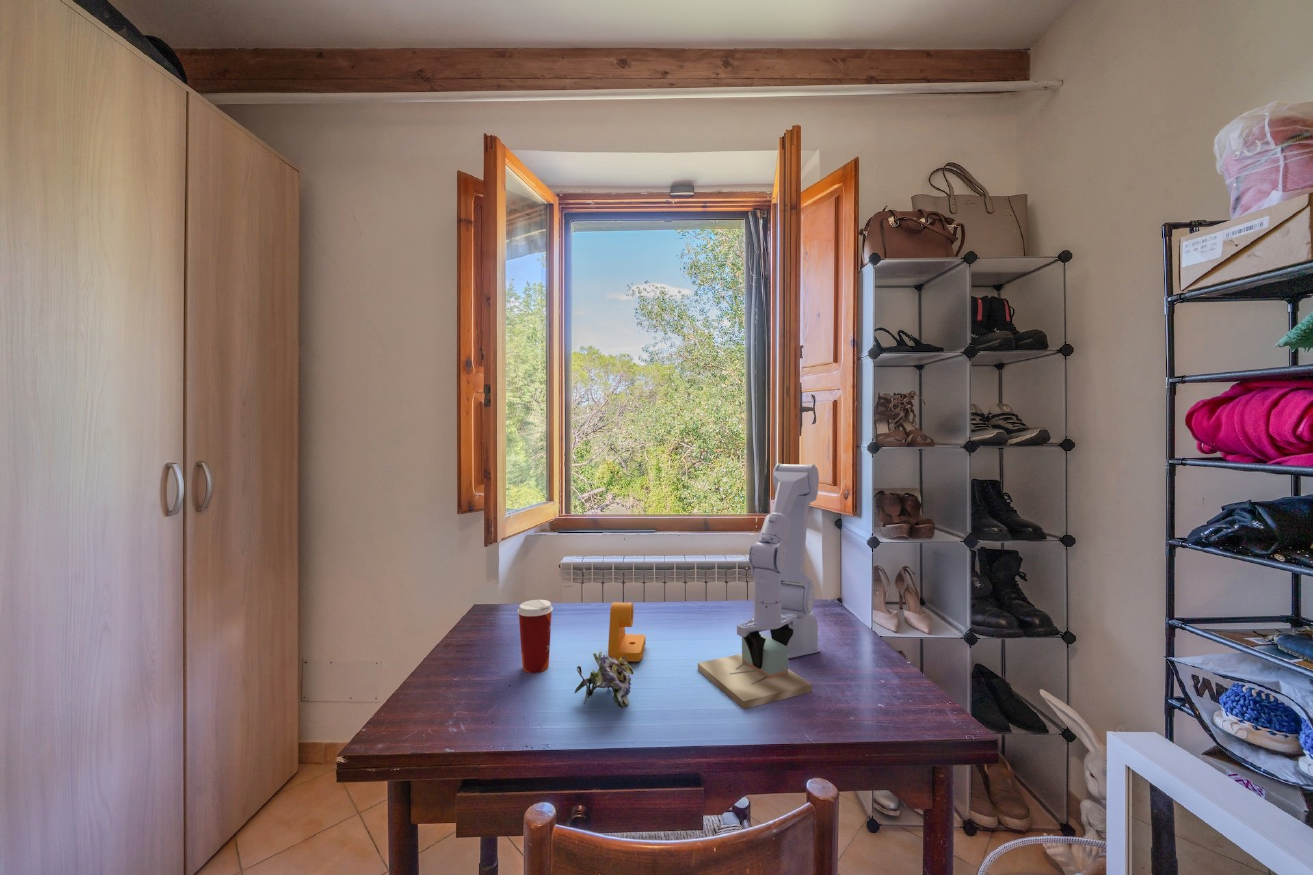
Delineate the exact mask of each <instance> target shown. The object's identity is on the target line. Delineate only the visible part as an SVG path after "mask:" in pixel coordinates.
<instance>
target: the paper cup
mask: <svg viewBox="0 0 1313 875" xmlns="http://www.w3.org/2000/svg"><path fill="white" fill-rule="evenodd" d="M553 610H554V608H553V606H552V603H551V601H549V600H547V599H532V600H527V601H524V602H522V603H520V605H518V609H517V614H518V618H519V619H518V620H519V622H518V623H519V635H520V651H521V653H520V654H521V664H522V669H523V672H525V673H528V674H538V673H541V672H542V673H543V672H544V671H546V670H548V669H549V664H550V651H551V650H550V649H551V631H552V630H551V626H552V611H553Z"/></svg>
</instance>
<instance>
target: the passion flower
mask: <svg viewBox="0 0 1313 875" xmlns="http://www.w3.org/2000/svg"><path fill="white" fill-rule="evenodd" d="M602 653H603V651H599V652H598V654H597V653H596V652H593V654H592V655H593V658H594V661H595V662H596V664H597V666H598V670H597V672H596V670H592V671H590V675H589V677H588V678H584V677H583V675H582V673H583V672H582V666H581V665H578V666H576V671H577V673H578V674H579V676H580V678H582V681H581V682H580V683H579V684H578V686H577V687H576V688H575V690H574V694H577V693H578V692H579V691H580V690H581V689H582V688H584V687H585V686H586V687H585V688H586V690H585V696H584V701H583V705H585V704H586V702H587V700H588V699H589V698H590V697H591V696H593V694H594V692H595V690H597V689H598V688H599V689H608V690H609V689H611V690H612V693H613V694H612V701H613V703H614V704H615V705H617V706H618V707H620V708H621V709H623V708H624V706H625V707H628V706H629V704H630V701H629V698H628V696H629V695H630V693H631V685H632V683H631V681H632V678H631V675H634V671H633V667H632V666H631V665H630V664H629V663H628V661H626V658H625V656H623V659H622V658H620V659H619V661H617V660H616V659H615V658H611V655H610V656H608V655H605V654H602ZM608 657H609V658H608ZM630 674H631V675H630Z"/></svg>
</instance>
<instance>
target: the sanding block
mask: <svg viewBox="0 0 1313 875" xmlns="http://www.w3.org/2000/svg"><path fill="white" fill-rule="evenodd" d="M759 634H761V637H763V638H765V639H766V641H765V644H764V648H763V658H762V668H761V669H758V668H756V667H755V666H753V663H752V659H751V655H750V652H749V649H748V646H747V644H746V642H745V640H744V638H743V637H741V654H742V662H743V663H744V664H746V665H748V666H749V667H751V668H753V669H754V670H756V671H757V672H759V673H761V674H762V675H764V676H766V677H767V678H769V679H770V678H774V677H777V676H781V675H784V674H788V669H789V658H788V647H787V646H785V645H783V644H781V643H779V642H777V641H775V640H773V639H772V637H770V636H767V635H766V634H763V633H762V632H759Z"/></svg>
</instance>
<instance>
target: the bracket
mask: <svg viewBox="0 0 1313 875" xmlns="http://www.w3.org/2000/svg"><path fill="white" fill-rule="evenodd" d="M634 614H635V612H634V603H633V602H618V601H617V602H612V603H611V605H610V613H609V626H608V627H609V628H608V648H607V657H608V656H610V655H611V658H615V659H616V660H617V662H618V661H619V659H620V658H622V659H623V656H625V658H626V661H627V662H640V661H642V660H643V656H644V654H645V651H646V649H645V647H646V645H647V644H646V635H645V634H638V633H637V634H635V633H634V634H633V633H631V634H629V633H626V628H632V627H633V623H634ZM608 658H609V657H608Z"/></svg>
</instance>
